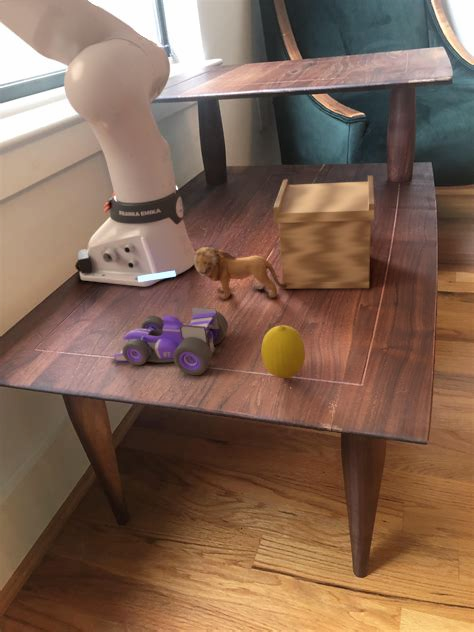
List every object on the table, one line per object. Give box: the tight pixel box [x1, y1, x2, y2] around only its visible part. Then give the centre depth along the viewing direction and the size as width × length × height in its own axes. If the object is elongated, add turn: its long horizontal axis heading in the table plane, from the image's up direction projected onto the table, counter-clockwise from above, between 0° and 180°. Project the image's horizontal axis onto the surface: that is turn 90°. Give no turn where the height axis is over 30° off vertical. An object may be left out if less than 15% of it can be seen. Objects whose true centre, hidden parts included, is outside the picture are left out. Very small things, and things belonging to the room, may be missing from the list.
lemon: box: [260, 324, 306, 379], centre depth 69 cm, size 6×6×8 cm
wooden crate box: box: [273, 175, 375, 290], centre depth 91 cm, size 15×13×15 cm
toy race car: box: [113, 306, 229, 376], centre depth 78 cm, size 10×15×6 cm, turn 73°
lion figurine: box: [194, 246, 288, 300], centre depth 89 cm, size 15×5×9 cm, turn 90°
